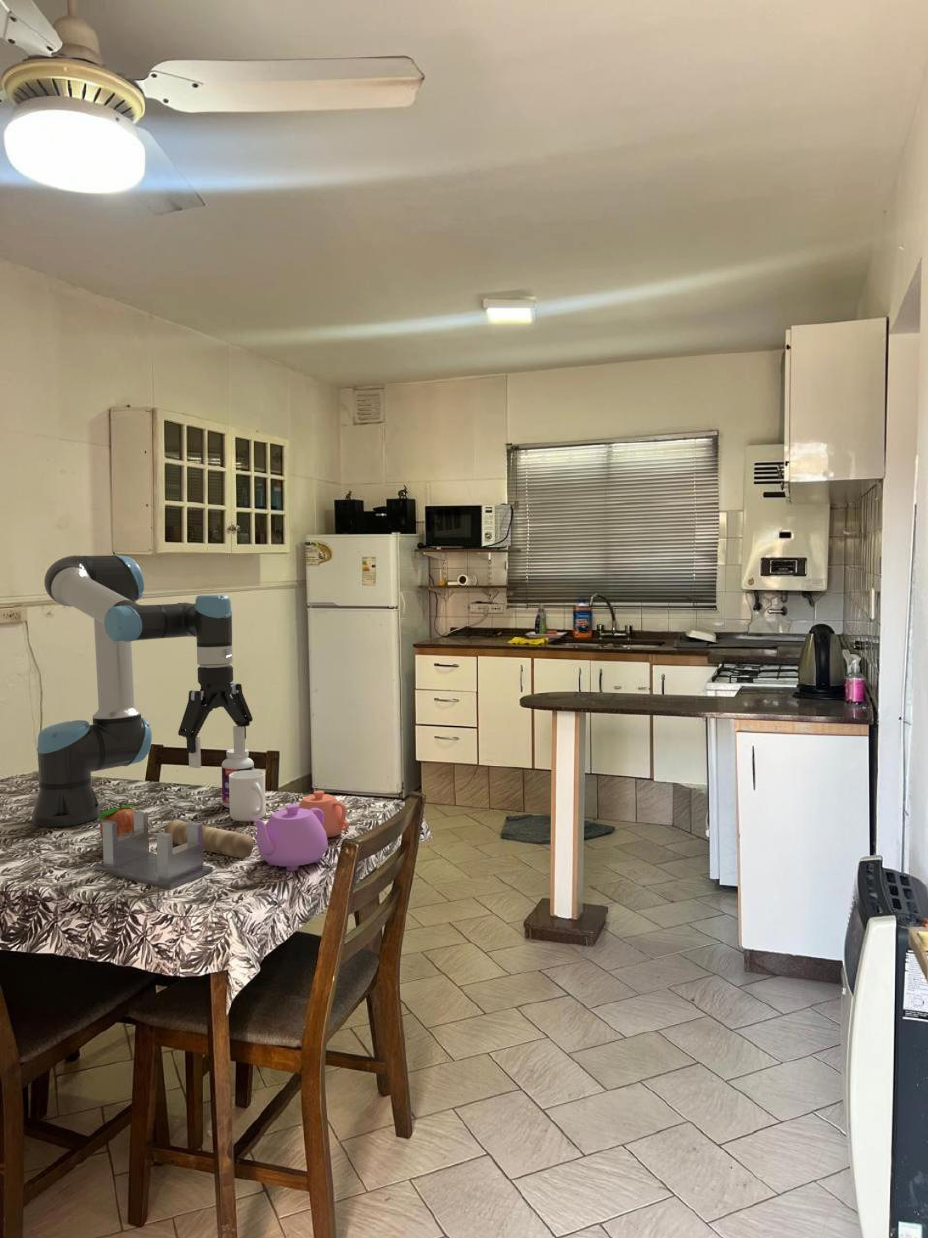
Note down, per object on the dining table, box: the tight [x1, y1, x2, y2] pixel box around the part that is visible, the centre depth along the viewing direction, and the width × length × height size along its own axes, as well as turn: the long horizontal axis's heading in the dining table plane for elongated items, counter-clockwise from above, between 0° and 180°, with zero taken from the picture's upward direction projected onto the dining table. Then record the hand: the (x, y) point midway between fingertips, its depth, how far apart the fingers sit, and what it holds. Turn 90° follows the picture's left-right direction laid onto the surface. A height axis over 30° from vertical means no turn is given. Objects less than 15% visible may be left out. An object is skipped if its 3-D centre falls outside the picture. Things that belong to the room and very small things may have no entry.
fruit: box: [97, 801, 139, 840], centre depth 192 cm, size 9×10×10 cm
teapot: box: [251, 803, 329, 872], centre depth 180 cm, size 20×14×12 cm
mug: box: [229, 769, 267, 822], centre depth 213 cm, size 9×12×11 cm
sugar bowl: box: [298, 790, 350, 839], centre depth 199 cm, size 12×14×10 cm
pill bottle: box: [221, 748, 255, 809], centre depth 224 cm, size 8×8×14 cm
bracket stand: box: [94, 810, 214, 891], centre depth 176 cm, size 22×11×10 cm, turn 60°
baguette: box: [163, 819, 255, 860], centre depth 190 cm, size 22×5×5 cm, turn 60°
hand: (218, 761), depth 191 cm, fingers open, 13 cm apart
